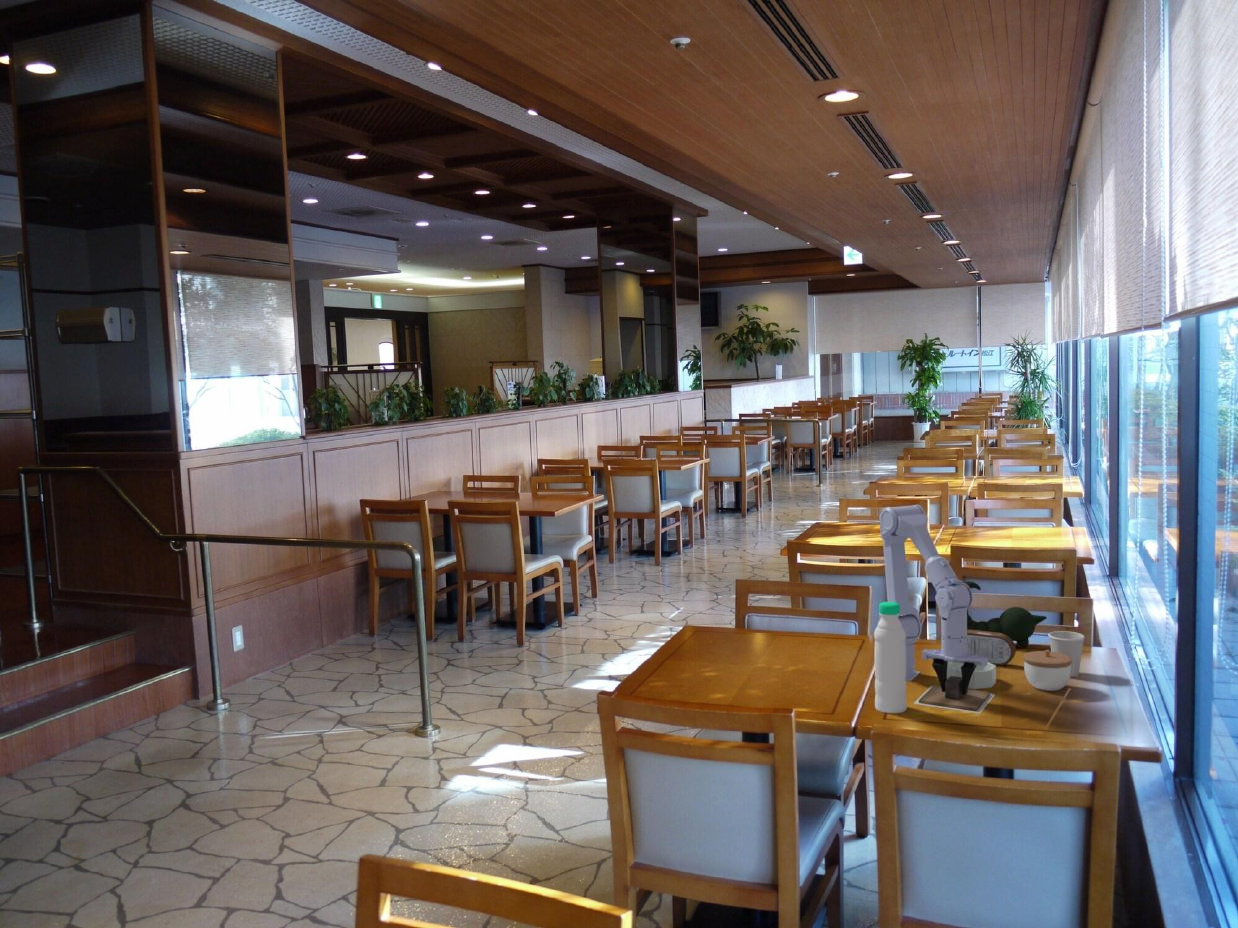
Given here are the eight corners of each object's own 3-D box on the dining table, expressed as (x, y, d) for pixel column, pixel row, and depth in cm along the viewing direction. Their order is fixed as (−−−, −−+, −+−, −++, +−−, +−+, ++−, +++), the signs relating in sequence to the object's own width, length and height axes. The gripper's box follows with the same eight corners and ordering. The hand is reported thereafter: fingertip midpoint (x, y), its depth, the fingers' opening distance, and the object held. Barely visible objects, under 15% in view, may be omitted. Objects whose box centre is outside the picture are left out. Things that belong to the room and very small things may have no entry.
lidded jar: (1076, 696, 232) (1076, 657, 231) (1028, 694, 234) (1028, 656, 233) (1065, 682, 243) (1065, 644, 242) (1019, 680, 245) (1019, 643, 244)
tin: (1016, 665, 258) (1016, 633, 257) (1013, 668, 255) (1013, 636, 255) (957, 658, 266) (956, 627, 265) (954, 661, 263) (953, 630, 263)
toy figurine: (952, 651, 278) (1048, 651, 267) (945, 585, 277) (1041, 582, 266) (957, 643, 286) (1050, 642, 275) (950, 578, 286) (1043, 575, 274)
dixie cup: (1064, 667, 254) (1064, 629, 254) (1092, 675, 247) (1092, 636, 246) (1040, 672, 251) (1040, 633, 250) (1068, 680, 243) (1068, 641, 243)
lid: (918, 702, 230) (918, 683, 230) (934, 687, 241) (934, 668, 240) (976, 711, 223) (976, 691, 222) (989, 694, 234) (989, 675, 233)
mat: (913, 705, 230) (913, 703, 230) (931, 687, 242) (931, 685, 242) (979, 715, 222) (979, 713, 222) (995, 695, 234) (995, 694, 234)
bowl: (941, 686, 243) (941, 668, 242) (953, 674, 252) (953, 656, 252) (988, 692, 237) (988, 674, 236) (999, 679, 246) (999, 662, 246)
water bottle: (901, 716, 222) (900, 607, 220) (870, 712, 226) (869, 604, 224) (910, 707, 228) (909, 601, 226) (880, 703, 232) (878, 598, 230)
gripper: (918, 635, 231) (918, 692, 232) (982, 643, 223) (982, 701, 224) (926, 629, 237) (927, 684, 238) (989, 635, 229) (989, 692, 230)
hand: (954, 692), depth 232 cm, fingers open, 4 cm apart
